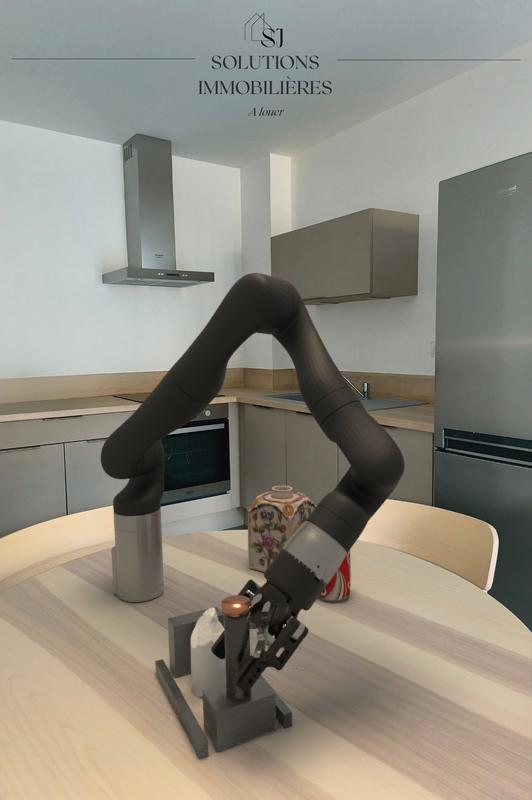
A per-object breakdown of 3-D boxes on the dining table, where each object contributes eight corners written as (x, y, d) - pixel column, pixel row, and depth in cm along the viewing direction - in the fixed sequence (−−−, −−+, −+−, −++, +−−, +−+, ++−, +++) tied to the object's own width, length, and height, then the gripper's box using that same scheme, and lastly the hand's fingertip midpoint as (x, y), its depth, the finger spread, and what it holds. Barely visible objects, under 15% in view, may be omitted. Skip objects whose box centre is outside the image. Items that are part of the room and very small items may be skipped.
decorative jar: (247, 569, 124) (245, 489, 123) (276, 552, 134) (274, 478, 132) (292, 581, 118) (291, 497, 116) (320, 563, 127) (319, 485, 125)
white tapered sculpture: (181, 605, 82) (216, 595, 84) (184, 683, 83) (218, 670, 86) (199, 621, 76) (235, 610, 79) (202, 704, 78) (237, 690, 81)
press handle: (203, 726, 73) (199, 600, 71) (259, 708, 76) (256, 588, 75) (217, 751, 68) (213, 617, 67) (276, 730, 72) (273, 603, 70)
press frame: (154, 671, 86) (152, 621, 85) (231, 650, 91) (230, 603, 90) (199, 759, 67) (197, 696, 66) (292, 726, 73) (291, 667, 72)
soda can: (349, 605, 106) (349, 544, 105) (312, 602, 108) (311, 542, 106) (351, 589, 113) (351, 531, 112) (316, 587, 114) (316, 530, 113)
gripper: (264, 532, 80) (188, 630, 76) (316, 567, 67) (228, 687, 63) (297, 561, 83) (225, 657, 79) (353, 600, 70) (271, 717, 66)
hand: (227, 670), depth 71 cm, fingers open, 7 cm apart
